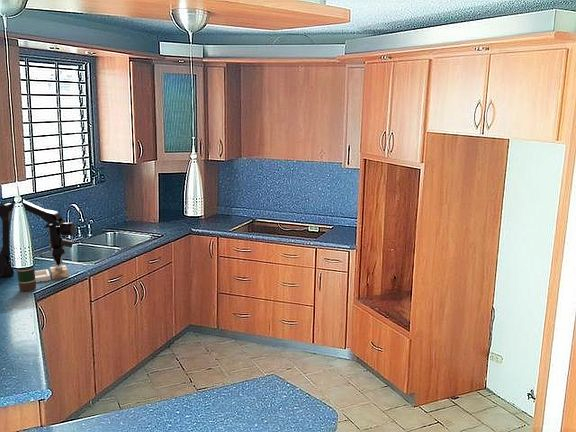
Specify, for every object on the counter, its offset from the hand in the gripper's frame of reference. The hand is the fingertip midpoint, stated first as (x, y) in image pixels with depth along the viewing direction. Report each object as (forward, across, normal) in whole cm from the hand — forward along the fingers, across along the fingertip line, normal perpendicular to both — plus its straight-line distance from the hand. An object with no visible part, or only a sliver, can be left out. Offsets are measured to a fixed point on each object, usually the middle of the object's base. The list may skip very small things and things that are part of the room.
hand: (58, 263), depth 309 cm
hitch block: (+6, 0, 0) cm, 6 cm away
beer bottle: (+7, -18, +16) cm, 25 cm away
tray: (+6, 0, +10) cm, 12 cm away
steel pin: (+6, 0, 0) cm, 6 cm away
